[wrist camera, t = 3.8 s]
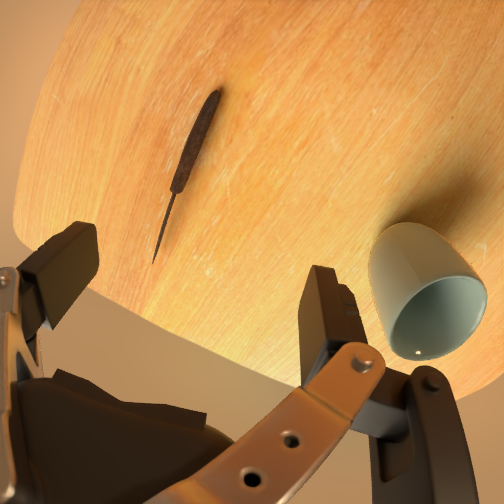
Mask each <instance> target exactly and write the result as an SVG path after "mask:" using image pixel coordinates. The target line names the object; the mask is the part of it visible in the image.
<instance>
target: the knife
mask: <svg viewBox="0 0 504 504" xmlns="http://www.w3.org/2000/svg"><path fill="white" fill-rule="evenodd" d="M219 99H220V91H219V90H215V91H213V92H212V93H211V94H210V95H209V97H208V98H207V100H206V101H205V103H204V105H203V107H202V109H201V111H200V113H199V115H198V117H197V119H196V121H195V123H194V126H193V128H192V130H191V132H190V135H189V137H188V139H187V142H186V144H185V147H184V150H183V153H182V155H181V158H180V161H179V164H178V167H177V170H176V172H175V175H174V178H173V181H172V184H171V187H170V191H171V192H172V197H171V199H170V202H169V205H168V208H167V211H166V214H165V218H164V221H163V224H162V227H161V231H160V234H159V238H158V242H157V245H156V249H155V253H154V258H153V262H154V259H155V257H156V254H157V252H158V249H159V246H160V242H161V239H162V236H163V233H164V230H165V227H166V224H167V220H168V217H169V214H170V211H171V208H172V205H173V203H174V200H175V197H176V194H179V193H181V192H182V191H183V189H184V187H185V185H186V182H187V180H188V177H189V175H190V172H191V169H192V167H193V165H194V162H195V160H196V158H197V155H198V153H199V150H200V148H201V146H202V143H203V140H204V138H205V135H206V132H207V130H208V127H209V125H210V122H211V119H212V117H213V115H214V112H215V110H216V107H217V105H218V102H219ZM153 262H152V264H153Z"/></svg>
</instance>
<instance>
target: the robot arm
mask: <svg viewBox="0 0 504 504" xmlns="http://www.w3.org/2000/svg"><path fill="white" fill-rule="evenodd" d="M98 268H99V253H98V243H97V231H96V227H95V225H94V224H91V223H86V222H80V221H75V222H74V223H72V224H71V225H70V226H69V227H67V228H66V229H65V230H64V231H63V232H61V233H58V234H56V235H54V236H52V237H51V238H50V239H49V240H47V241H46V242H45V243H44V245H42V246H40V247H39V248H38V250H37V251H35V252H33V253H32V254H31V255H30V256H29V257H28V258H27V259H26V260H25V261H23V262H22V263H21V264H20V265H19V266H18V267H17V268H16V269H15V268H13V267H3V268H0V504H286V503H287V502H288V501H289V500H290V499H291V498H292V497H293V496H294V495H295V494H296V493H297V492H298V491H299V490H300V489H301V487H302V486H303V485H304V484H305V483H306V482H307V481H308V480H309V478H310V477H311V476H312V475H313V474H314V473H315V472H316V470H317V469H318V468H319V467H320V465H321V464H322V463H323V462H324V461H325V459H326V458H327V457H328V456H329V454H330V453H331V452H332V451H333V449H334V448H335V447H336V446H337V444H338V443H339V442H340V440H341V439H342V438H343V436H344V435H345V434H346V432H347V431H348V430H349V429H351V430H354V431H357V432H360V433H363V434H367V435H368V436H369V448H370V461H371V478H372V504H479V498H478V492H477V487H476V481H475V476H474V471H473V466H472V462H471V457H470V453H469V449H468V445H467V441H466V437H465V433H464V429H463V426H462V422H461V419H460V415H459V412H458V408H457V405H456V402H455V399H454V396H453V393H452V390H451V387H450V384H449V381H448V380H447V378H446V377H445V376H444V374H443V373H441V372H440V371H439V370H437V369H436V368H433V367H431V366H419V367H417V368H415V369H414V371H413V372H412V373H411V375H408V374H405V373H402V372H399V371H396V370H393V369H390V368H388V367H386V364H385V360H384V358H383V357H382V355H381V354H380V353H379V352H378V351H377V350H376V349H375V348H373V347H372V346H370V345H368V342H367V338H366V334H365V331H364V327H363V324H362V320H361V317H360V316H359V314H360V313H359V310H358V307H357V303H356V300H355V297H354V294H353V293H352V292H351V291H350V290H349V288H348V287H347V286H346V285H344V284H338V281H337V277H336V273H335V270H334V269H333V268H329V267H323V266H318V265H312V267H311V269H310V272H309V275H308V278H307V281H306V285H305V288H304V291H303V294H302V297H301V300H300V304H299V310H298V326H299V345H300V367H301V386H298V387H297V388H296V389H294V390H293V391H292V392H291V393H290V394H289V395H288V396H287V397H286V398H285V399H284V400H283V401H282V402H281V403H279V404H278V405H277V406H276V407H275V408H274V409H273V410H272V411H271V412H270V413H269V414H267V416H265V417H264V418H263V419H262V420H261V421H260V422H258V423H257V424H256V425H255V426H254V427H253V428H252V429H250V430H249V431H248V432H247V433H246V434H244V435H243V436H242V437H241V438H240V439H239V440H237V441H236V442H234V441H233V440H232V439H231V438H229V437H228V436H226V435H225V434H224V433H222V432H220V431H219V430H217V429H215V428H213V427H211V426H209V425H206V416H207V413H203V412H198V411H193V410H188V409H184V408H179V407H175V406H171V405H167V404H151V403H133V402H123V401H120V400H118V399H117V398H115V397H113V396H112V395H110V394H108V393H107V392H105V391H104V390H102V389H101V388H99V387H98V386H96V385H95V384H93V383H92V382H90V381H89V380H86V379H83V378H81V377H78V376H75V375H73V374H70V373H68V372H65V371H63V370H60V369H57V370H56V372H55V374H54V375H53V377H52V378H45V377H44V373H43V364H42V356H41V345H40V335H39V332H38V329H39V328H40V326H42V327H44V328H47V329H49V330H53V329H54V328H55V327H56V325H57V324H58V323H59V321H60V320H61V319H62V317H63V316H64V315H65V313H66V312H67V311H68V309H69V308H70V307H71V305H72V304H73V303H74V301H75V300H76V299H77V298H78V296H79V295H80V294H81V292H82V291H83V290H84V289H85V287H86V286H87V285H88V284H89V283H90V281H91V280H92V279H93V278H94V276H95V275H96V273H97V271H98Z"/></svg>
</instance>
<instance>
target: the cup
mask: <svg viewBox="0 0 504 504" xmlns="http://www.w3.org/2000/svg"><path fill="white" fill-rule="evenodd" d="M368 277H369V283H370V288H371V293H372V297H373V300H374V304H375V307H376V310H377V313H378V316H379V319H380V323H381V326H382V329H383V332H384V334H385V337H386V340H387V342H388V344H389V346H390V348H391V350H392V351H393V352H394V353H395V354H396V355H398V356H400V357H402V358H404V359H408V360H413V361H423V360H431V359H435V358H439V357H441V356H444V355H446V354H448V353H450V352H452V351H454V350H455V349H457V348H458V347H459V346H461V345H462V344H463V343H464V342H465V341H466V340H467V339H468V338H469V337H470V336H471V335H472V333H473V332H474V331H475V329H476V328H477V326H478V325H479V323H480V321H481V319H482V317H483V315H484V312H485V309H486V305H487V290H486V287H485V285H484V283H483V281H482V280H481V278H480V277H479V275H478V274H477V272H476V271H475V270H474V269H473V267H472V266H471V265H470V264H469V263H468V261H467V260H466V259H465V258H464V257H463V256H462V255H461V253H460V252H459V251H458V250H457V249H456V248H455V247H454V246H453V245H452V244H451V243H450V242H449V241H448V240H447V239H445V238H444V237H443V236H442V235H441V234H440V233H438V232H437V231H435V230H434V229H432V228H430V227H428V226H426V225H423V224H419V223H415V222H402V223H397V224H394V225H392V226H390V227H388V228H386V229H385V230H384V231H383V232H382V233H381V234H380V235H379V236H378V238H377V239H376V241H375V243H374V244H373V246H372V249H371V252H370V256H369V262H368Z"/></svg>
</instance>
